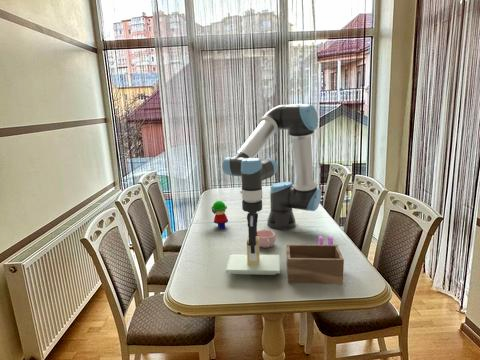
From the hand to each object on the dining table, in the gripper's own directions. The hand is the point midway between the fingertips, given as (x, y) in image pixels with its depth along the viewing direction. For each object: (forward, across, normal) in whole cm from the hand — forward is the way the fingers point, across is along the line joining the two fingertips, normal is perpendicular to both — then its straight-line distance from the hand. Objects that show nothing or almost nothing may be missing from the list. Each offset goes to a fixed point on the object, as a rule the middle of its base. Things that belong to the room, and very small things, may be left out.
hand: (253, 256), depth 131 cm
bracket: (+7, -16, +31) cm, 36 cm away
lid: (+5, 0, 0) cm, 5 cm away
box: (+7, 0, +23) cm, 24 cm away
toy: (+7, -48, -21) cm, 53 cm away
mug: (+7, -26, +4) cm, 27 cm away
